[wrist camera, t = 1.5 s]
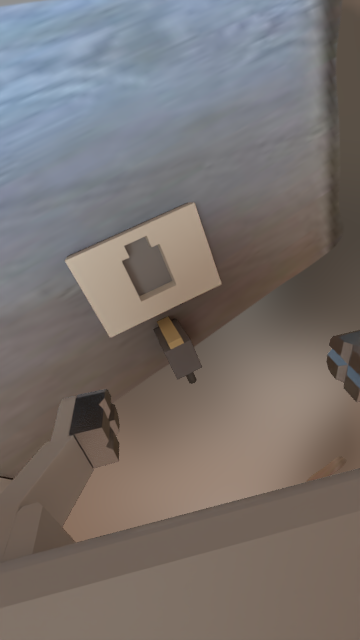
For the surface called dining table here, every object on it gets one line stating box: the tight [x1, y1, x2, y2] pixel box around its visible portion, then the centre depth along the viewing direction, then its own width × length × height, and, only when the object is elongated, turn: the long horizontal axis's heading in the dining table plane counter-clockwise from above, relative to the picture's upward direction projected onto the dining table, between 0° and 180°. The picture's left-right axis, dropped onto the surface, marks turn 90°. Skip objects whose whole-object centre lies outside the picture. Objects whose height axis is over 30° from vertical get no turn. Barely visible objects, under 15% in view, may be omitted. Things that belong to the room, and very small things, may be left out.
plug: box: [154, 317, 202, 384], centre depth 44 cm, size 9×4×8 cm, turn 22°
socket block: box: [65, 203, 221, 338], centre depth 40 cm, size 12×18×4 cm, turn 112°
